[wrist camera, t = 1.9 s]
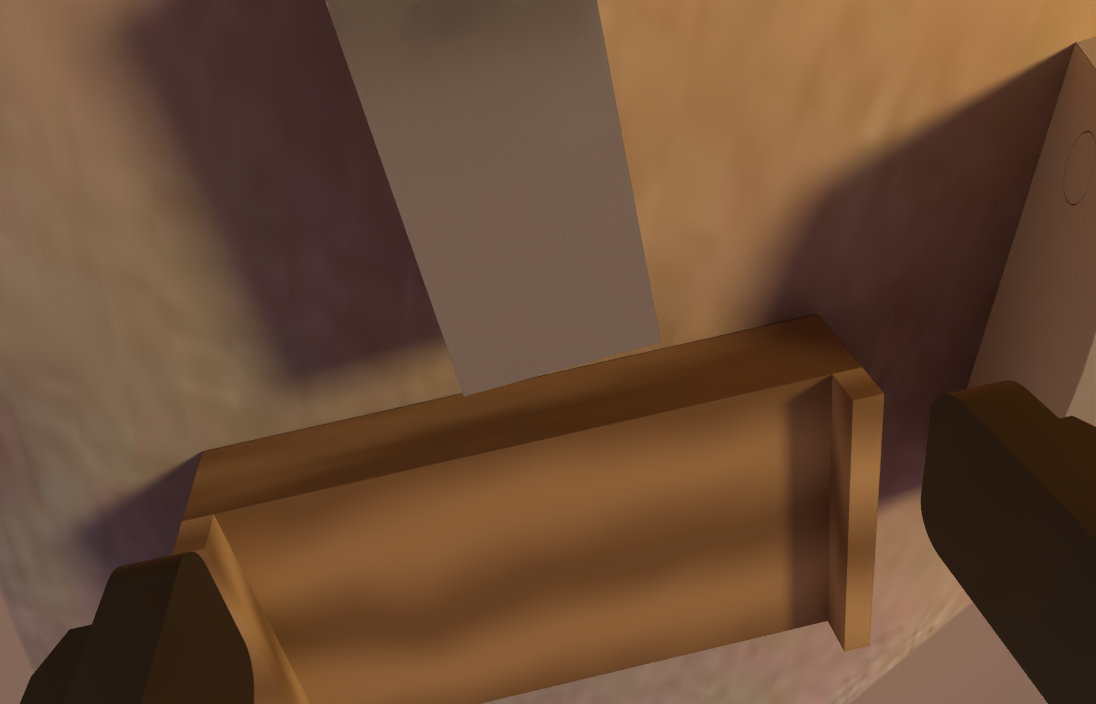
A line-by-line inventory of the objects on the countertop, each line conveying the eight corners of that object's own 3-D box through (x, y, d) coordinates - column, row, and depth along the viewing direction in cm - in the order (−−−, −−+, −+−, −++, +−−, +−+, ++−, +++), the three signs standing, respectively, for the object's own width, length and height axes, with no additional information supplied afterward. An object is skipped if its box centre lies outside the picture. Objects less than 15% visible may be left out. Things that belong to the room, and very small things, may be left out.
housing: (526, -168, 22) (566, -161, 17) (613, 247, 29) (660, 341, 24) (316, -110, 22) (294, -86, 17) (451, 292, 29) (464, 396, 24)
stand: (202, 451, 30) (171, 556, 26) (817, 314, 31) (884, 393, 27) (309, 670, 37) (299, 782, 32) (816, 551, 37) (869, 645, 33)
